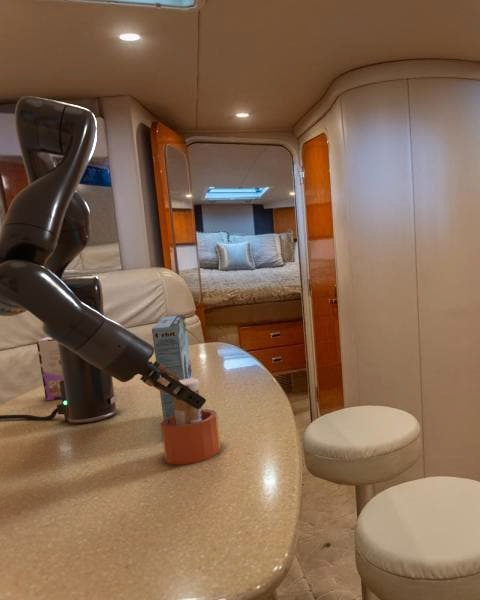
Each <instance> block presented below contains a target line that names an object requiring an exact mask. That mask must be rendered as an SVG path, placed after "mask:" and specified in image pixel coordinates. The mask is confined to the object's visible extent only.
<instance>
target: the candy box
mask: <svg viewBox="0 0 480 600" xmlns="http://www.w3.org/2000/svg"><path fill="white" fill-rule="evenodd" d="M35 342H36V347H37V353H38V360H39V366H40V372H41V379H42V384H43V392H44V399H45V401H54V400H60V399H61V400H62V397H61V390H60V381H61V380H63V375H62V368H61V361H60V355H59V348H58V342H56V341H55V340H53V339H51V338H50V337H48V336H45V337H43V338H40V339H37V340H36V341H35Z"/></svg>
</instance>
